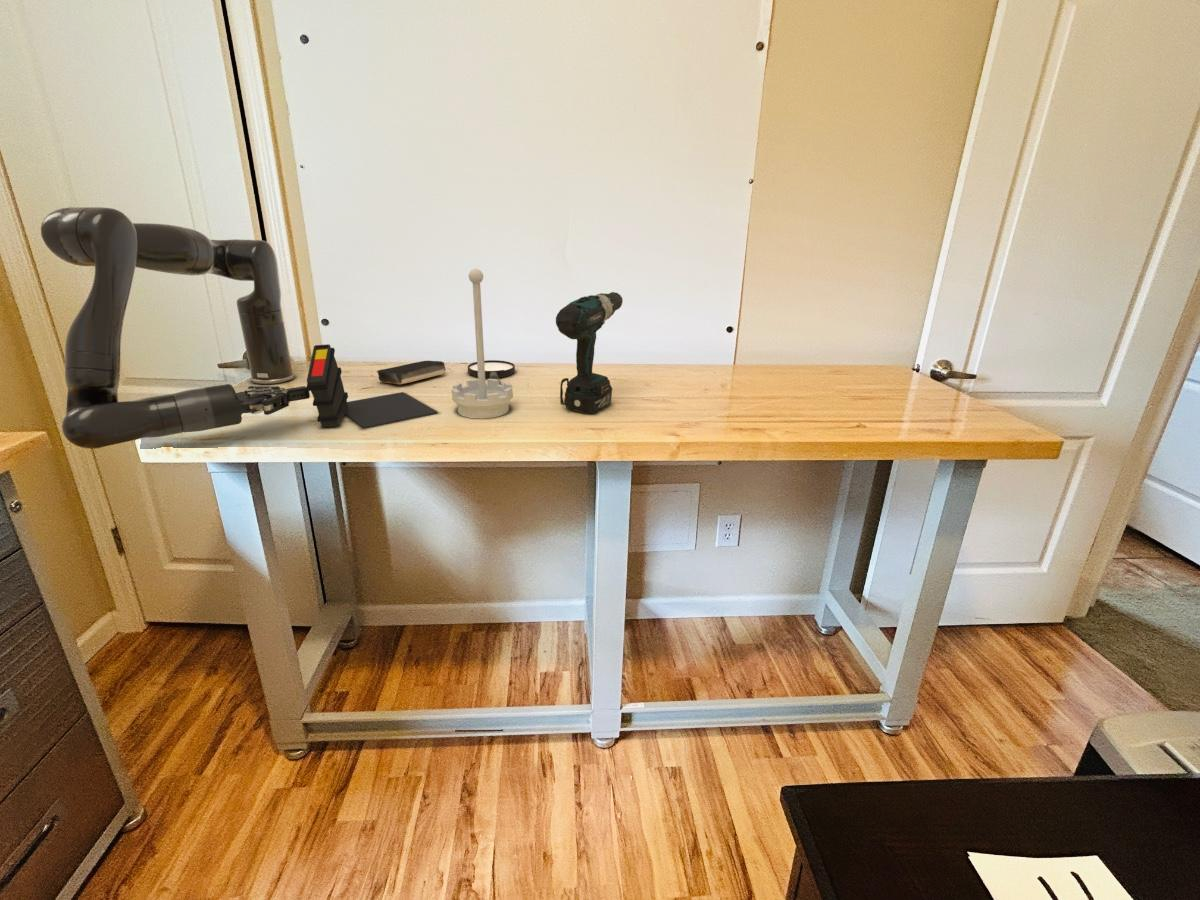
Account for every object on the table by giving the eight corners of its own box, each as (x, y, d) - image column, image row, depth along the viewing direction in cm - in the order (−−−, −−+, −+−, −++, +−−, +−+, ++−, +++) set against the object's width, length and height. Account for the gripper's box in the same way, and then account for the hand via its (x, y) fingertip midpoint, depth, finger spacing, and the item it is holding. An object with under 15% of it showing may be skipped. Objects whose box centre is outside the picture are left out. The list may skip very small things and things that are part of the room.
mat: (333, 406, 134) (333, 404, 133) (403, 393, 143) (402, 391, 143) (363, 428, 121) (363, 426, 121) (437, 413, 131) (437, 411, 130)
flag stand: (514, 418, 128) (508, 272, 117) (451, 420, 126) (439, 272, 115) (512, 400, 140) (508, 265, 129) (455, 401, 138) (445, 265, 127)
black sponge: (396, 389, 146) (395, 374, 145) (375, 382, 151) (374, 368, 149) (449, 376, 158) (448, 362, 157) (428, 370, 163) (427, 357, 162)
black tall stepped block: (352, 396, 133) (332, 343, 121) (345, 441, 125) (323, 388, 113) (334, 397, 132) (312, 344, 121) (326, 442, 124) (302, 390, 113)
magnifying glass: (471, 392, 145) (470, 384, 144) (466, 367, 166) (466, 360, 165) (523, 390, 148) (523, 381, 147) (512, 365, 169) (512, 358, 168)
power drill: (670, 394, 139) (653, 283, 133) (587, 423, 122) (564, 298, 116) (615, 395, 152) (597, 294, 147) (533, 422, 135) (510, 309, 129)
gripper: (209, 397, 103) (315, 381, 114) (196, 380, 112) (295, 366, 123) (218, 438, 106) (321, 418, 116) (205, 418, 115) (301, 401, 126)
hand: (308, 391), depth 120 cm, fingers closed
